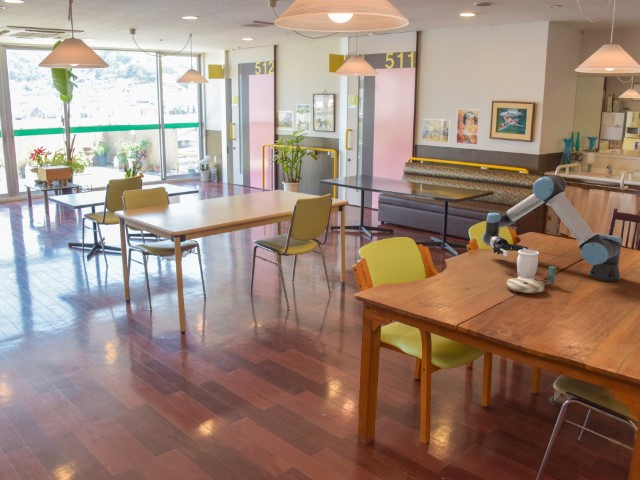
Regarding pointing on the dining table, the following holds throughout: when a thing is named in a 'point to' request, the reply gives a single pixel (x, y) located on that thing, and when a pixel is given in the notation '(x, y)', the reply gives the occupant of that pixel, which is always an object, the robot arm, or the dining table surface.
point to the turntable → (531, 283)
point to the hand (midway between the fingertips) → (518, 253)
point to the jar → (527, 263)
